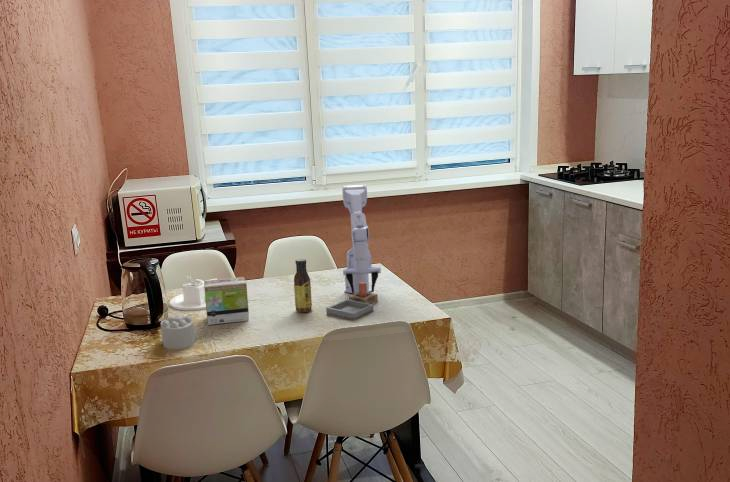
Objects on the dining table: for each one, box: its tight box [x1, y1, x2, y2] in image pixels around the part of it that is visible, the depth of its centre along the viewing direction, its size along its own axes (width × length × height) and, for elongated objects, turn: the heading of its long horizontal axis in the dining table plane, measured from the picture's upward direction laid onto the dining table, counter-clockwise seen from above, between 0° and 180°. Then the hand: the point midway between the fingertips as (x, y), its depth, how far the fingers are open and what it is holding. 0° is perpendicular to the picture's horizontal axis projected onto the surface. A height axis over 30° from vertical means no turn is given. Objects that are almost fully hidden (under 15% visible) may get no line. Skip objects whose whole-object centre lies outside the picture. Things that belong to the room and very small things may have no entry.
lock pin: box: [359, 282, 367, 297], centre depth 255 cm, size 3×3×8 cm
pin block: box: [348, 292, 379, 305], centre depth 255 cm, size 8×8×3 cm
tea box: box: [203, 276, 250, 326], centre depth 242 cm, size 15×10×15 cm
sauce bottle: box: [293, 258, 313, 313], centre depth 247 cm, size 7×6×20 cm
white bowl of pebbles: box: [160, 314, 196, 351], centre depth 221 cm, size 10×13×9 cm
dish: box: [169, 274, 218, 312], centre depth 267 cm, size 25×25×11 cm
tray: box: [325, 298, 375, 321], centre depth 244 cm, size 13×12×2 cm
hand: (362, 291), depth 254 cm, fingers open, 7 cm apart
